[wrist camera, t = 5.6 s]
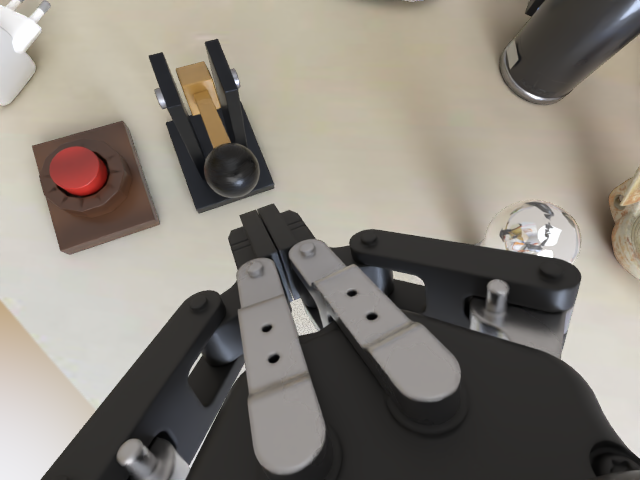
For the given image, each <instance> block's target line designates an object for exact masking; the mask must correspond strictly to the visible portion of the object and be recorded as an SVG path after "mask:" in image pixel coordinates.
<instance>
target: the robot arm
mask: <svg viewBox="0 0 640 480" xmlns="http://www.w3.org/2000/svg"><path fill="white" fill-rule="evenodd" d="M525 14H527V15H529V16H531V18H530V19H529V21H528V22H527V23H526V24H525V25H524V27H523V28H522V29H521V30H520V32H519V33H518V34H517V35H516V37H515V38H514V39H513V40H512V41H511V42H510V43H509V44H508V45H507V47H506V48H505V49H504V51H503V52H502V55H501V58H500V70H501V74H502V76H503V79H504V81H505V82H506V84H507V85H508V86H509V88H510V89H511V90H512V91H513V92H514V93H516V94H517V95H518V96H520V97H521V98H523V99H525V100H527V101H529V102H532V103H536V104H552V103H555V102H558V101H560V100H561V99H563V98H564V97H565V96H566V95H567V94H569V93H570V92H571V91H572V90H573V88H575V87H576V86H577V85H578V84H579V83H581V82H582V81H583V80H584V79H585V78H587V77H588V76H589V75H591V74H592V73H593V72H594V71H595V70H597V69H598V68H599V67H600V66H601V65H603V64H604V63H605V62H606V61H607V60H609V59H610V58H611V57H612V56H614V55H615V54H616V53H617V52H618V51H620V50H621V49H622V48H623V47H624V46H626V45H627V44H628V43H629V42H630V41H632V40H633V39H634V38H635V37H636V36H638V35H639V34H640V0H530V1H529V3H528V6H527V9H526V12H525ZM257 211H258V213H257ZM257 211H256V210H253V211H250V212H248V213H245V214H242V215H239V216H240V219H241V221H242V224H243V227H240V228H237V229H234V230H232V231H231V232H230V235H229V237H228V240H229V243H230V246H231V250H232V253H233V256H234V259H235V263H236V266H237V269H238V271H237V274H236V277H237V281H236V282H235V284H234V285H233V286H232V287H231V288H230V289H228V290H227V291H226V292H224V293H222V294H221V295H219V293H217V292H215V291H211V290H207V291H202V292H199V293H196V294H194V295H192V296H190V297H189V298H188V299H186V300H185V301H184V302H183V303H182V305H181V306H180V307H179V308H178V310H177V311H176V312H175V313H174V315H173V316H172V317H171V318H170V320H169V321H168V322H167V323H166V325H165V326H164V327H163V328H162V329H161V331H160V332H159V333H158V334H157V336H156V337H155V338H154V339H153V341H152V342H151V343H150V344H149V346H148V347H147V348H146V349H145V351H144V352H143V353H142V354H141V356H140V357H139V358H138V359H137V361H136V362H135V363H134V364H133V365H132V367H131V368H130V369H129V370H128V372H127V373H126V374H125V375H124V377H123V378H122V379H121V380H120V382H119V383H118V384H117V385H116V387H115V388H114V389H113V390H112V392H111V393H110V394H109V395H108V397H107V398H106V399H105V400H104V402H103V403H102V404H101V405H100V406H99V408H98V409H97V410H96V411H95V413H94V414H93V415H92V416H91V418H90V419H89V420H88V422H87V423H86V424H85V425H84V426H83V428H82V429H81V430H80V431H79V433H78V434H77V435H76V436H75V438H74V439H73V440H72V441H71V443H70V444H69V445H68V446H67V447H66V449H65V450H64V451H63V453H62V454H61V455H60V456H59V457H58V459H57V460H56V461H55V462H54V464H53V465H52V466H51V468H50V469H49V470H48V471H47V472H46V474H45V475H44V476H43V477H42V479H41V480H640V458H638V457H637V456H636V455H635V454H634V453H633V452H631V451H630V450H629V448H628V447H627V446H626V445H625V444H624V443H623V441H622V440H621V439H620V438H619V436H618V435H617V434H616V432H615V431H614V429H613V428H612V426H611V425H610V424H609V422H608V420H607V419H606V417H605V415H604V413H603V411H602V409H601V407H600V405H599V403H598V400H597V398H596V396H595V394H594V392H593V391H592V389H591V388H590V386H589V385H588V383H587V382H586V381H585V380H584V379H583V378H582V376H581V375H580V374H579V373H578V372H576V371H575V370H574V369H573V368H572V367H571V366H569V365H568V364H566V363H565V362H564V361H562V360H561V352H562V349H563V346H564V342H565V338H566V334H567V331H568V327H569V323H570V319H571V316H572V312H573V308H574V304H575V300H576V297H577V293H578V289H579V285H580V281H581V273H580V272H579V270H578V269H577V268H576V267H575V266H574V265H572V264H571V263H569V262H567V261H564V260H562V259H558V258H553V257H547V256H540V255H534V254H528V253H521V252H515V251H509V250H502V249H496V248H490V247H483V246H477V245H471V244H464V243H458V242H452V241H445V240H439V239H433V238H426V237H420V236H414V235H407V234H401V233H395V232H388V231H382V230H375V229H370V230H364V231H361V232H358V233H356V234H355V235H353V236H352V237H351V239H350V242H349V244H350V246H344V247H337V248H331V247H328V246H327V245H326V244H325V243H324V242H323V241H321V240H317V239H316V238H315V237H314V236H313V234H312V233H311V231H310V230H309V229H308V227H307V226H306V225H305V223H304V222H303V221H302V219H301V217H300V216H299V215H298V213H295V212H293V211H291V210H288V211H285V212H282V213H279V211H278V209H277V208H276V206H275V205H274V203H273V204H270V205H268V206H265V207H262V208H259V209H257ZM392 270H393V271H397V272H402V273H407V274H411V275H415V276H418V277H419V278H421V279H422V280H423V282H424V284H425V286H422V285H418V284H413V283H409V282H405V281H400V280H396V279H393V272H392ZM289 289H290V290H289ZM290 291H291V293H290ZM291 294H292V296H293V298H294V300H296V299H298V298H301V299H302V301H303V304H304V308H305V311H306V313H307V315H308V316H309V318H310V320H311V321H312V323H313V324H314V326H315V327H316V329H317V331H318V332H315V333H311V334H306V335H301V336H299V335H298V332H297V329H296V326H295V323H294V320H293V317H292V314H291V313H292V308H291V305H290V302H291V301H293V299H292V296H291ZM200 353H202V357H201V358H200V360H199V361H198V363H197V364H196V366H195V368H194V369H193V371H192V372H191V374H190V375H189V371H190V369H191V367H192V365H193V364H194V362H195V361H196V359H197V358H198V356H199V355H200ZM244 363H245V367H246V370H245V371H244V372H243V373H242V374H241V375H240V377H239V378H238V379H237V380H236V382H235V383H234V381H235V379H236V378H237V376H238V374H239V372H240V370H241V368H242V366H243V365H244ZM188 375H189V377H188ZM233 383H234V384H233ZM232 385H233V386H232ZM231 387H232V388H231ZM228 392H229V393H228ZM227 394H228V395H227ZM226 396H227V397H226ZM225 398H226V399H225ZM224 400H225V401H224ZM223 402H224V403H223ZM222 404H223V405H222ZM221 406H222V407H221ZM220 407H221V409H220ZM219 409H220V411H219ZM218 411H219V413H218ZM217 413H218V415H217ZM216 415H217V417H216ZM215 417H216V419H215ZM214 419H215V421H214V423H213V425H212V427H211V429H210V431H209V433H208V435H207V437H206V439H205V441H204V443H203V445H202V447H201V449H200V451H199V453H198V455H197V457H196V459H195V461H194V463H193V465H192V467H191V469H190V467H189V465H190V463H191V461H192V459H193V458H194V456H195V454H196V452H197V450H198V448H199V446H200V445H201V443H202V441H203V439H204V437H205V435H206V433H207V432H208V430H209V428H210V426H211V424H212V422H213V420H214Z"/></svg>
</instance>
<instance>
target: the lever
mask: <svg viewBox="0 0 640 480" xmlns="http://www.w3.org/2000/svg"><path fill="white" fill-rule="evenodd" d="M176 72H177V75H178V78H179V81H180V84H181V86H182V89H183V92H184V94H185V97H186V99H187V102H188V105H189V107H190V110H191V113H192V115H193V116H194V115H198V114H200V115H201V117H202V120H203V122H204V125H205V128H206V130H207V133H208V135H209V138H210V141H211V143H212V146H213V148H214V149H213V150H212V151H211V152H210V153H209V154H208V156H207V158H206V161H205V164H204V174H205V178H206V181H207V183H208V184H209V186H210V187H211V188H212V189H213V190H214V191H215V192H216V193H218V194H219V195H222V196H224V197H228V198H238V197H242V196H244V195H246V194H248V193H249V192H251V191H252V190H253V189H254V187H255V186H256V184H257V182H258V180H259V175H260V169H259V164H258V161H257V159H256V157H255V155H254V154H253V153H252V152H251V151H250V150H249V149H248V148H246V147H245V146H243V145H240V144H237V143H231V142H230V139H229V137H228V135H227V132H226V130H225V128H224V126H223V123H222V121H221V119H220V117H219V114H218V112H217V110H216V109H219V108H221V105H220V102H219V98H218V95H217V92H216V89H215V85H214V82H213V79H212V77H211V75H210V72H209V70H208V68H207V66H206V64H205V62H199V63H195V64H192V65H188V66H184V67H180V68H176Z"/></svg>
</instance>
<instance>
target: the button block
mask: <svg viewBox="0 0 640 480" xmlns="http://www.w3.org/2000/svg"><path fill="white" fill-rule="evenodd" d="M75 146H79V147H84V148H87V149H89V150H91V151H92V152H93V153H95V154H96V155H97V156H98V157H99V158H100V159H101V160H102V161H103V162H104V164H105V165H106V167H107V172H108V176H107V180H106V182H105V184H104V186H103V187H102V188H101V189H100V190H99V191H97V192H96V193H94V194H91V195H87V196H76V195H73V194H70V193H69V192H67V191H66V190H64V189H63V188H61V187H60V186H58V185H57V184H56V183H55V182H54V181H53V180H52V178H51V176H50V171H49V168H50V163H51V161H52V159H53V158H54V157H55V155H56V154H57V153H59V152H60V151H62V150H64V149H66V148H69V147H75ZM32 148H33V152H34V155H35V159H36V163H37V166H38V170H39V174H40V175H39V177H40V181H41V185H42V189H43V192H44V195H45V197H46V200H47V203H48V207H49V211H50V214H51V218H52V222H53V225H54V229H55V233H56V236H57V240H58V244H59V248H60V251H62V252H64V253H67V254H73V253H76V252H79V251H82V250H85V249H88V248H91V247H94V246H97V245H100V244H103V243H106V242H109V241H112V240H115V239H118V238H121V237H124V236H127V235H130V234H133V233H136V232H139V231H142V230H145V229H148V228H151V227H154V226H157V225H159V224H160V222H159V219H158V216H157V213H156V210H155V207H154V204H153V201H152V198H151V195H150V192H149V189H148V186H147V183H146V180H145V177H144V174H143V171H142V168H141V165H140V162H139V159H138V156H137V153H136V150H135V147H134V143H133V140H132V137H131V134H130V131H129V129H128V127H127V126H126V125H125V123H124V122H123V121H120V122H117V123H113V124H109V125H106V126H102V127H99V128H95V129H91V130H88V131H84V132H80V133H77V134H73V135H70V136H66V137H62V138H59V139H55V140H52V141H48V142H44V143H41V144H37V145H33V146H32Z"/></svg>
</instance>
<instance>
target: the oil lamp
mask: <svg viewBox="0 0 640 480" xmlns="http://www.w3.org/2000/svg"><path fill="white" fill-rule="evenodd" d="M620 195H623V199H622V202H621V201H620V200H619V196H620ZM609 206H610V209H611V212H612V216H613V219H614V221H615V226H614V228H613V230H612V246H613V251H614V254H615V257H616V259H617V260H618V262H619V263H620V264H621V265H622V267H624V268H625V269H626V270H627V271H628V272H629V273H630V274H632V275H633V276H634V277H635V278H637V279H638V280H640V166H639V168H638V169H637V171H636V173H635V175H634V177H632V178H630V179H628V180H627V181H625V182H623V183H622V184H621V185H619V186H618V187H616V188H615V189H614V190H613V191H612V192H611V194H610V196H609Z"/></svg>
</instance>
